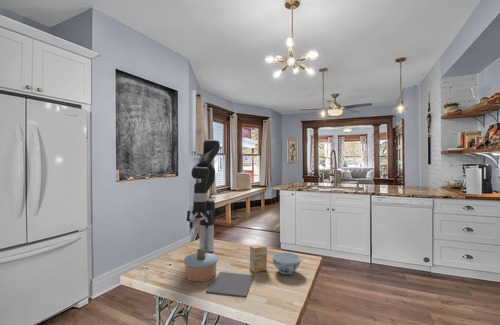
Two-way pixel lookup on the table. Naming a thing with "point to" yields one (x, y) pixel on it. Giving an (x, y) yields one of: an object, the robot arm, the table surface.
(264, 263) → the supplement box
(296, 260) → the chinaware
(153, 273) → the table surface
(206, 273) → the bowl
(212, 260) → the lid
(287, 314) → the table surface
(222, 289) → the mat
